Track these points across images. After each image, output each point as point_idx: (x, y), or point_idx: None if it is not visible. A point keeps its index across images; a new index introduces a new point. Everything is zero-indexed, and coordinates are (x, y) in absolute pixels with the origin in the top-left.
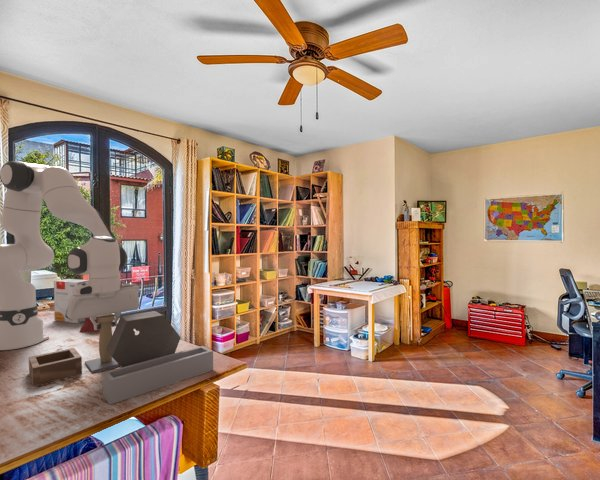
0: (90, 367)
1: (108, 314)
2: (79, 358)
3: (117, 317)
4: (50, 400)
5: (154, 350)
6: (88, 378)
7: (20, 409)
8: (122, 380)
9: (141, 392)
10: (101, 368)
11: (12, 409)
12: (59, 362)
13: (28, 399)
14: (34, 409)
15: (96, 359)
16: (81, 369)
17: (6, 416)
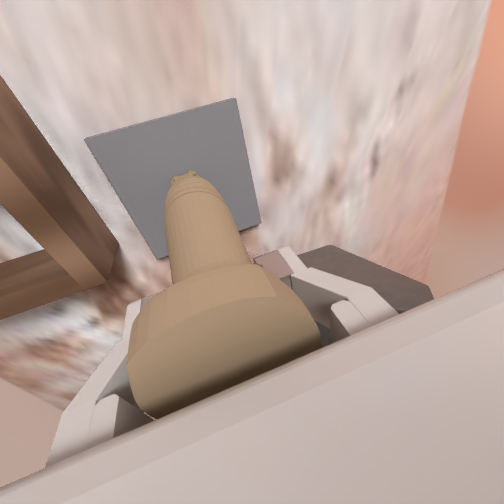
0: (141, 230)
1: (276, 333)
2: (100, 282)
3: (329, 327)
4: (102, 360)
5: (329, 342)
6: (155, 284)
7: (50, 381)
8: None
9: None
10: None
11: (27, 381)
12: (22, 310)
13: (34, 353)
14: (86, 381)
15: (140, 139)
16: (115, 251)
17: (37, 396)
